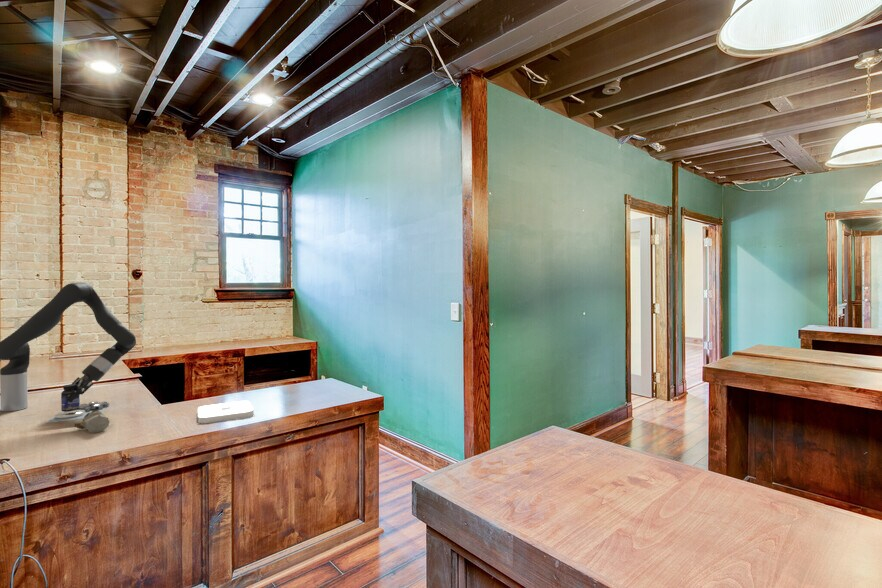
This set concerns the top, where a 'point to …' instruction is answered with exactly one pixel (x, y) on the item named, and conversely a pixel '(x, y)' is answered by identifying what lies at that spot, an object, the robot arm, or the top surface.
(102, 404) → the gear
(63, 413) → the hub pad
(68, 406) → the pill bottle
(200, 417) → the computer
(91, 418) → the ceramic sculpture
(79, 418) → the gear board
